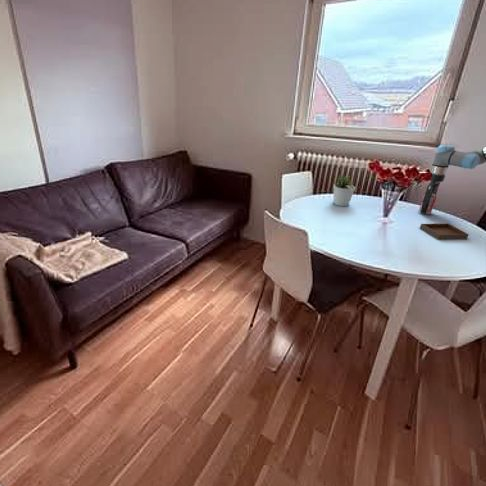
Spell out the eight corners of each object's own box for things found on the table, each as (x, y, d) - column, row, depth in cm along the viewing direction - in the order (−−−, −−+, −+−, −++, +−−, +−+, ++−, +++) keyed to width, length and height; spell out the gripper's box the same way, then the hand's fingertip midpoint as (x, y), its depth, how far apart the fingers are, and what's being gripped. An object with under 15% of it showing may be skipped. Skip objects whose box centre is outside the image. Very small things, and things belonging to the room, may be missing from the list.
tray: (467, 239, 153) (468, 234, 152) (437, 239, 152) (439, 234, 151) (446, 227, 165) (448, 223, 164) (419, 228, 164) (421, 223, 163)
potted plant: (327, 199, 203) (333, 169, 195) (350, 201, 200) (356, 171, 191) (329, 205, 192) (334, 174, 184) (352, 208, 189) (360, 176, 180)
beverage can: (433, 214, 182) (439, 195, 177) (424, 215, 180) (431, 195, 175) (424, 210, 187) (430, 191, 182) (415, 211, 186) (421, 192, 181)
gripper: (435, 169, 182) (423, 206, 192) (423, 174, 171) (411, 213, 180) (450, 172, 177) (437, 210, 186) (439, 177, 165) (426, 217, 175)
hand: (424, 211), depth 183 cm, fingers closed on beverage can, 6 cm apart
